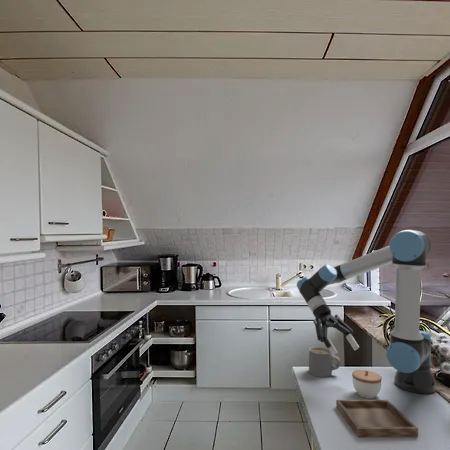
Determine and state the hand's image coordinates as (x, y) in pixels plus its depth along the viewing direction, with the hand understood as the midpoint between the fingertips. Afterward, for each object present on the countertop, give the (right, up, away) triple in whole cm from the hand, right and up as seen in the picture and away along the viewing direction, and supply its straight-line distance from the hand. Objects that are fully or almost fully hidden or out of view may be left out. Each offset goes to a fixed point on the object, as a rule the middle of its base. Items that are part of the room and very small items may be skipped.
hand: (346, 351), depth 147 cm
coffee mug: (-6, -14, +12) cm, 20 cm away
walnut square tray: (0, -13, -27) cm, 31 cm away
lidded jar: (+5, -14, -8) cm, 17 cm away
